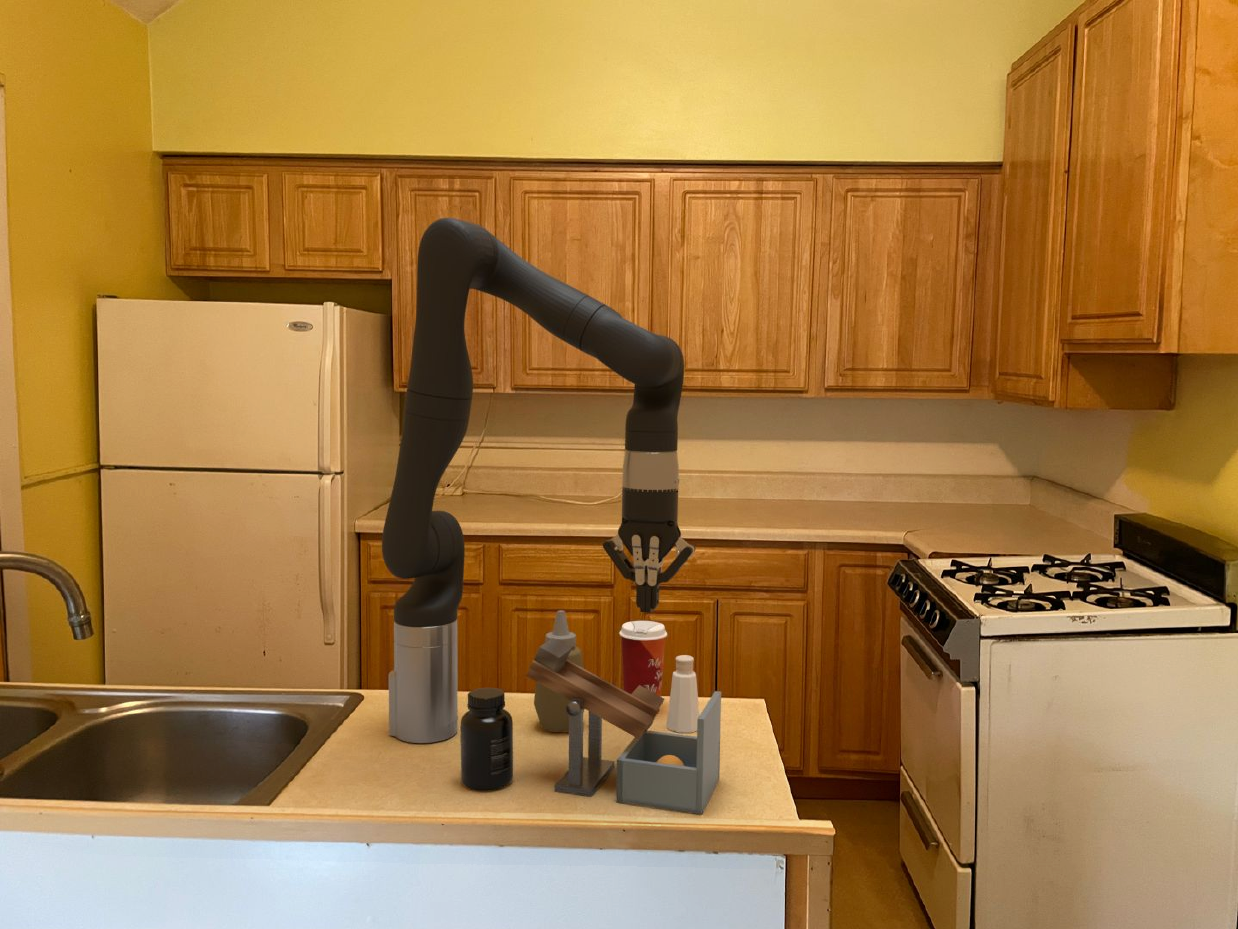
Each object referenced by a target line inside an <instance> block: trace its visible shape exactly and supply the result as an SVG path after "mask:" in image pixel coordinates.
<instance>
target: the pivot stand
mask: <svg viewBox="0 0 1238 929" xmlns="http://www.w3.org/2000/svg"><path fill="white" fill-rule="evenodd" d="M583 703H584V699H575V698H571V699H570V700H569V704H568V705H567V707H566V711H567V713H568V714H569V731H568V770H567V771H566V772H565V773H564V774H562V776H561V777H560V779H558V781H557V782H556V783H555V784H554V787H553V788H554V790H553V792H557V793H562V794H569V795H570V794H571V795H575V796H576V795H577V796H584V797H590V798H591V797H593V795H594V794H595V793H596V791H597V790H598V788H600V786H601V785H602V784H603V782H604V781H605V780H606V778H607V777H608V776H609V775H610V774H611V772H612V771H613V769H614V768H615V760H610V759H602V756H603V755H602V754H603V752H602V751H603V750H602V749H603V748H602V746H603V744H602V743H603V741H602V740H603V738H602V737H603V734H602V732H603V719H602V718H600V717H598V716H597V715H595V714H593V713H591V712H590V711H588V728H587V729H588V732H587V733H588V734H587V735H588V737H587V740H588V741H587V743H588V744H587V751H588V752H587V757H586V756H584V713H583Z"/></svg>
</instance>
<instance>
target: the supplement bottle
mask: <svg viewBox="0 0 1238 929" xmlns="http://www.w3.org/2000/svg"><path fill="white" fill-rule="evenodd" d="M505 699H506V698H505V691H504V690H502V689H501V688H495V687H480V688H475V689H471V690H470V691H469V692H468V693H467V704H466V705H467V710H468V711H467V712H465V713H463V715H462V717H461V719H460V724H459V725H460V727H459V728H460V768H461V770H460V774H461V783H462V784H463V786H464V787H466V788H467V789H469V790H471V791H477V792H490V791H491V792H492V791H497V790H500V789H504V788H505V787H507V786H508V785H510V784H511V782H512V781H513V779H514V735H513V734H514V730H513V729H514V728H513V727H514V726H513V725H514V724H513V717H512V715H511V713H510V712H509V711H508V710H506V709H505V707H506V701H505Z"/></svg>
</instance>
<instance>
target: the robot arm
mask: <svg viewBox="0 0 1238 929" xmlns="http://www.w3.org/2000/svg"><path fill="white" fill-rule="evenodd" d="M416 270H417V271H416V308H415V310H416V311H415V312H416V313H415V322H414V323H415V325H414V331H413V340H412V347H411V357H410V358H411V359H410V366H409V367H410V369H409V372H408V373H409V374H408V380H407V385H406V391H405V392H406V393H405V394H406V395H405V400H404V401H405V403H404V409H403V420H402V421H403V422H402V430H401V431H402V432H401V438H400V444H399V451H398V457H397V464H396V469H395V477H394V481H393V487H392V491H391V495H390V498H389V503H388V508H387V512H386V516H385V520H384V525H383V528H382V529H383V530H382V538H381V554H382V559H383V561H384V564H385V566H386V568H387V570H388V571H389V573H390V574H391V575H392V576H393V577H395V578H398V579H400V580H407V579H408V580H410V579H413V582H412V584H411V585H410V587H409V588H408V590H406V592H405V593H404V594H402V595H401V596H400V597H399V598H398V599H397V600H396V602H395V604H394V606H393V641H394V643H393V648H394V649H393V651H394V653H393V655H394V657H393V658H394V660H393V661H394V662H393V663H394V665H393V667H394V668H393V670H391V671H390V672H389V673H388V735H389V736H393V737H396V738H397V739H398V740H400V741H403V742H407V743H414V744H415V743H416V744H430V743H437V742H441V741H445V740H448V739H450V738H452V737H453V736H455V735H456V734H457V732H458V720H459V717H458V610H459V607H460V604H461V601H462V597H463V594H464V575H465V574H464V573H465V556H466V555H465V554H466V550H465V549H466V548H465V537H464V533H463V532H464V531H463V529H462V526H461V525H460V523H459V521H458V520H457V519H456V517H455V516H454V515H453V514H452V513H449V512H448V511H444V510H433V506H434V502H435V497H436V496H435V495H436V493H437V489H438V485H439V484H440V481H441V479H442V478H443V476H444V474H445V472H446V470H447V468H448V466H449V465H450V464H451V461H452V460H453V458H454V457H455V455H456V454H457V452H458V451H459V448H460V447H461V445H462V443H463V441H464V439H465V436H466V434H467V431H468V429H469V428H468V427H469V422H470V417H471V410H472V403H473V402H472V401H473V394H474V378H473V377H474V376H473V371H472V370H473V369H472V365H471V364H472V363H471V358H470V354H469V351H468V350H469V349H468V346H467V340H466V333H465V331H466V330H465V321H466V320H465V319H466V312H467V304H468V297H469V294H470V293H469V292H470V290H475V291H478V292H481V293H485V294H488V295H490V296H494V297H495V298H498V299H500V300H503V301H505V302H506V303H509V304H511V305H512V306H515V307H516V308H518V309H519V310H521V312H523V313H525V314H526V315H527V316H528V317H530V318H531V319H532V320H533V321H534V322H536V323H537V324H538V325H539V326H540V327H542V328H543V329H544V330H546V331H547V332H548V333H550V334H551V335H553V336H555V337H556V338H558V339H560V340H561V341H563V342H564V343H566V344H568V345H570V346H572V347H573V348H575V349H577V350H579V351H581V352H582V353H584V354H586V355H589V356H590V357H593V358H595V359H597V360H598V361H599V362H600V363H602V364H603V365H604V366H606V367H607V368H608V369H610V370H611V371H612V372H614V373H615V374H617V375H618V376H620V377H621V378H623V379H625V380H627V381H628V382H629V383H631V384H634V389H633V400H632V405H631V407H630V409H629V410H628V411H627V414H626V417H625V428H624V430H625V433H624V437H625V438H624V456H623V464H622V478H621V479H622V481H621V482H622V488H621V523H620V525H619V527H618V530H617V534H616V535H615V536H613V537H612V538H611V539H608V540H606V541H604V542H603V543H602V548H603V549H604V551H605V552H606V554H607V556H608V557H609V558H610V559H611V561H612V562H613V564H614V565H615V567H616V568H617V570H618V571H619V572H620V574H621V575H622V577H623V578H624V579H625V580H630V581H632V582H633V583H635V586H636V588H635V589H636V591H635V592H636V593H635V594H636V596H635V599H636V600H635V604H636V607H637V608H640V609H639V610H640V613H649V614H652V613H653V612H654V611H655V609H657V608H658V606H659V604H660V585H661V584H663V583H668V582H669V581H670V580H672V579H673V578H674V577H675V575H676V574H677V573H678V572H679V571H680V570H681V568H682V567H683V566H684V565H685V564H686V563H687V561H688V560H689V559H690V558H691V556H693V555H694V554H695V552H696V546H695V545H694V544H690V543H688V542H687V541H686V540H685V539H684V538H683V537H681V536H682V532H681V529H680V528H679V523H678V521H679V520H678V519H679V517H678V515H679V484H680V474H679V473H680V472H679V469H680V468H679V457H678V442H679V441H678V438H679V436H678V435H679V434H678V431H679V427H678V426H679V424H678V416H679V415H678V414H679V409H680V404H681V399H682V393H683V392H682V391H683V386H684V377H685V360H684V355H683V352H682V349H681V347H680V346H679V344H678V343H677V342H676V341H675V340H674V339H672V338H671V337H668V336H665V335H662V334H656V333H655V332H652V331H649V330H647V329H645V328H643V327H641V326H639V325H638V324H635V323H634V322H632V321H630V320H628V319H625V318H624V317H623V316H622V315H621V314H620V313H619V312H618V311H616V310H615V309H614V308H612V307H611V306H609V305H607V304H605V303H603V302H601V301H600V300H598V299H596V298H594V297H592V296H590V295H588V294H587V293H585V292H583V291H581V290H579V289H577V288H576V287H573V286H571V285H569V284H567V283H566V282H563V281H561V280H560V279H557V278H555V277H554V276H552V275H550V274H548V273H546V272H544V271H542V270H541V269H539V268H537V267H536V266H534V265H532V263H530V262H528V261H527V260H525V259H524V258H523V257H521V256H519V254H517V253H516V252H515V251H513V250H512V249H511V248H509V247H508V246H507V245H506V244H505V243H503V242H502V241H501V240H500V239H499V238H497V237H496V236H495V235H494V234H492V233H491V232H489V230H487V228H485V227H483V226H482V225H480V224H476V223H473V222H469V221H465V220H462V219H459V218H453V217H442V218H438V219H437V220H435V221H433V222H432V223H431V224H429V225H428V227H427V228H426V229H425V230H424V232H423V234H422V237H421V239H420V242H419V246H418V251H417V266H416ZM624 546H625V548H626V549H627V551H628V553H629V554H630V555H631V556H632V557H633V558H632V559H633V563H632V562H631V560H630V559H629V557H627V555H626V553H625V552H624ZM674 547H676V549H675V551H674V554H675V556H676V557H675V559H674V560H673V561H672V562H671V564H670V565H669V566H668V567H667V568H666V569H665V571H663V566H664V561H665V560H664V558H666V557H667V556H668V555H669V554H670V552H671V551H672V549H673V548H674Z"/></svg>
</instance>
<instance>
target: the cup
mask: <svg viewBox="0 0 1238 929" xmlns="http://www.w3.org/2000/svg"><path fill="white" fill-rule="evenodd" d="M721 718H722V691H717V690H715V691H714V692H713V693H712V696H711V697H710V699H709V700H708V702H707V703H706V705H705V706H704V708H703V709H702V711H701V712H700V713H699V717H698V719H697V731H696V736H695V735H694V736H693V735H686V734H681V733H672V732H662V731H653V730H647V731H646V732H645V734H644V735H643V736H642V738H641V739H640V740H639V739H638V738H636V737H634V736H633V739H631V742H630V743H629V744H628V745H627V746H626V748H624V750H623V751H622V753H621V754H620V755H618V758H616V779H615V780H616V783H615V784H616V785H615V786H616V790H615V796H616V797H615V798H616V799H615V802H616V803H619V804H627V805H630V806H631V805H632V806H641V807H646V808H652V809H661V810H666V811H667V810H668V811H673V812H680V813H687V814H693V815H699V816H700V815H701V816H702V815H703V814H704V811H705V810H706V808H707V805H708V804H709V801H710V799H711V798H712V795H713V793H714V791H715V789H716V787H717V785H718V784H719V781H720V769H721V768H720V764H721V762H720V760H721V756H720V755H721V726H722V725H721V721H722V720H721ZM666 755H673V756H676V757H678V758H679V759H680V760H681V761H682V762H683V764H684V766H679V765H672V764H664V763H657V761H658V760H659V759H660V758H661V757H663V756H666Z"/></svg>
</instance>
